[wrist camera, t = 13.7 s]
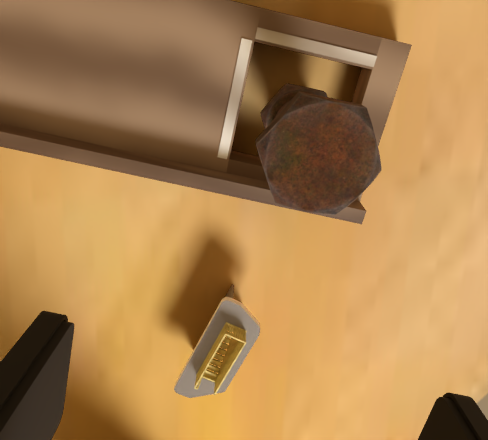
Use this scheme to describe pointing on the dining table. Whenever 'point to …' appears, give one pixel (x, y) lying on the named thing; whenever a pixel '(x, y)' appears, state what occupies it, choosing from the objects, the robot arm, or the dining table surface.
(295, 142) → the bolt
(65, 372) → the robot arm
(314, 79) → the dining table surface
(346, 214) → the brown wooden long tray
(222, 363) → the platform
